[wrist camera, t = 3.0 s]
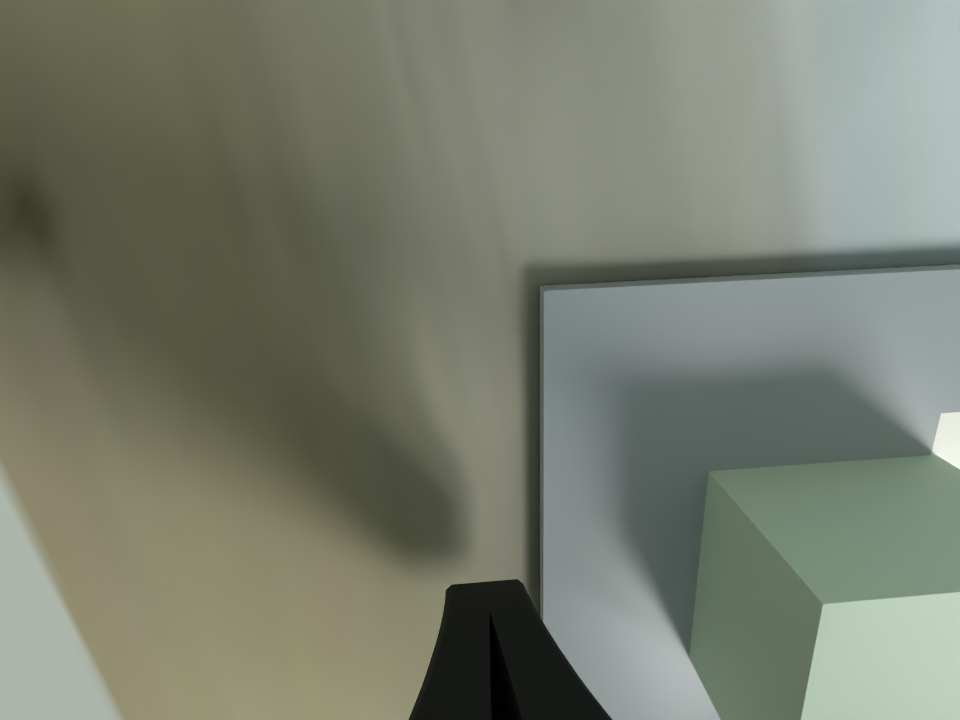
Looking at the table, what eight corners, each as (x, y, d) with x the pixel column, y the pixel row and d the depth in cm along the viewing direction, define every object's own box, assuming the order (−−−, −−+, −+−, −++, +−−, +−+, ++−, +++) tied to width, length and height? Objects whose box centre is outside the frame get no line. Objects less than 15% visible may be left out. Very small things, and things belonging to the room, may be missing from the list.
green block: (890, 638, 14) (1044, 803, 10) (688, 657, 13) (779, 833, 10) (935, 454, 12) (1134, 576, 9) (708, 471, 12) (823, 605, 8)
